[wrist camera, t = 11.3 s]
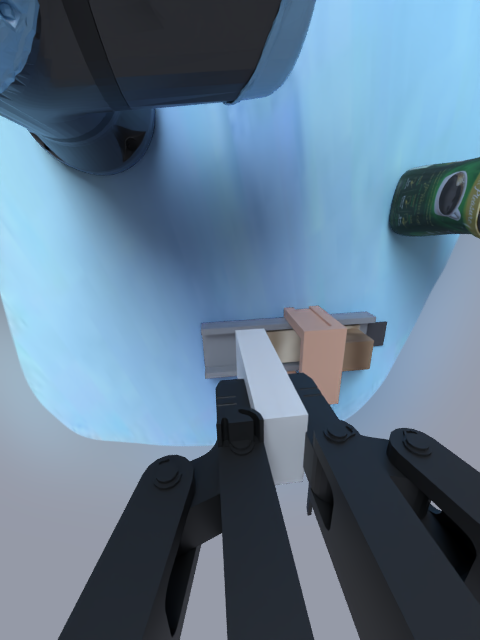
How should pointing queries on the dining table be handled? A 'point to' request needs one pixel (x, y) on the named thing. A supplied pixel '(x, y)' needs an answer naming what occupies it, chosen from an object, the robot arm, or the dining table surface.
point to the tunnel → (319, 348)
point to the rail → (222, 334)
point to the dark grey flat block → (376, 332)
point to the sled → (354, 354)
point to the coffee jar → (438, 200)
